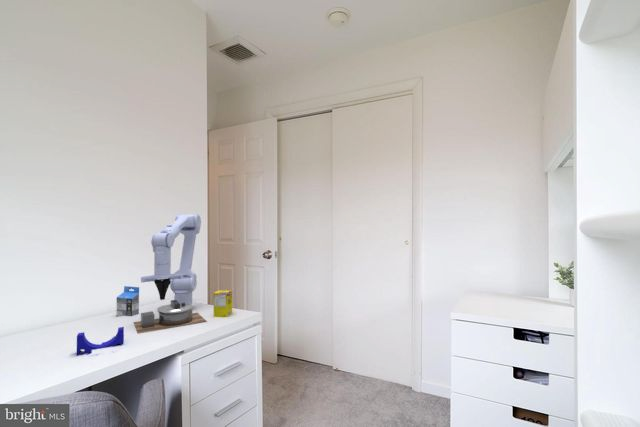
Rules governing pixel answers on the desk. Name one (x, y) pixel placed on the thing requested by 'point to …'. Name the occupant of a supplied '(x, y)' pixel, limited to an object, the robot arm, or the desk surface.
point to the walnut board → (195, 320)
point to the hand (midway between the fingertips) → (162, 299)
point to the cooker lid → (174, 307)
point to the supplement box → (222, 303)
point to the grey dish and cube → (166, 319)
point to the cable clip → (88, 347)
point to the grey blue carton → (128, 302)
